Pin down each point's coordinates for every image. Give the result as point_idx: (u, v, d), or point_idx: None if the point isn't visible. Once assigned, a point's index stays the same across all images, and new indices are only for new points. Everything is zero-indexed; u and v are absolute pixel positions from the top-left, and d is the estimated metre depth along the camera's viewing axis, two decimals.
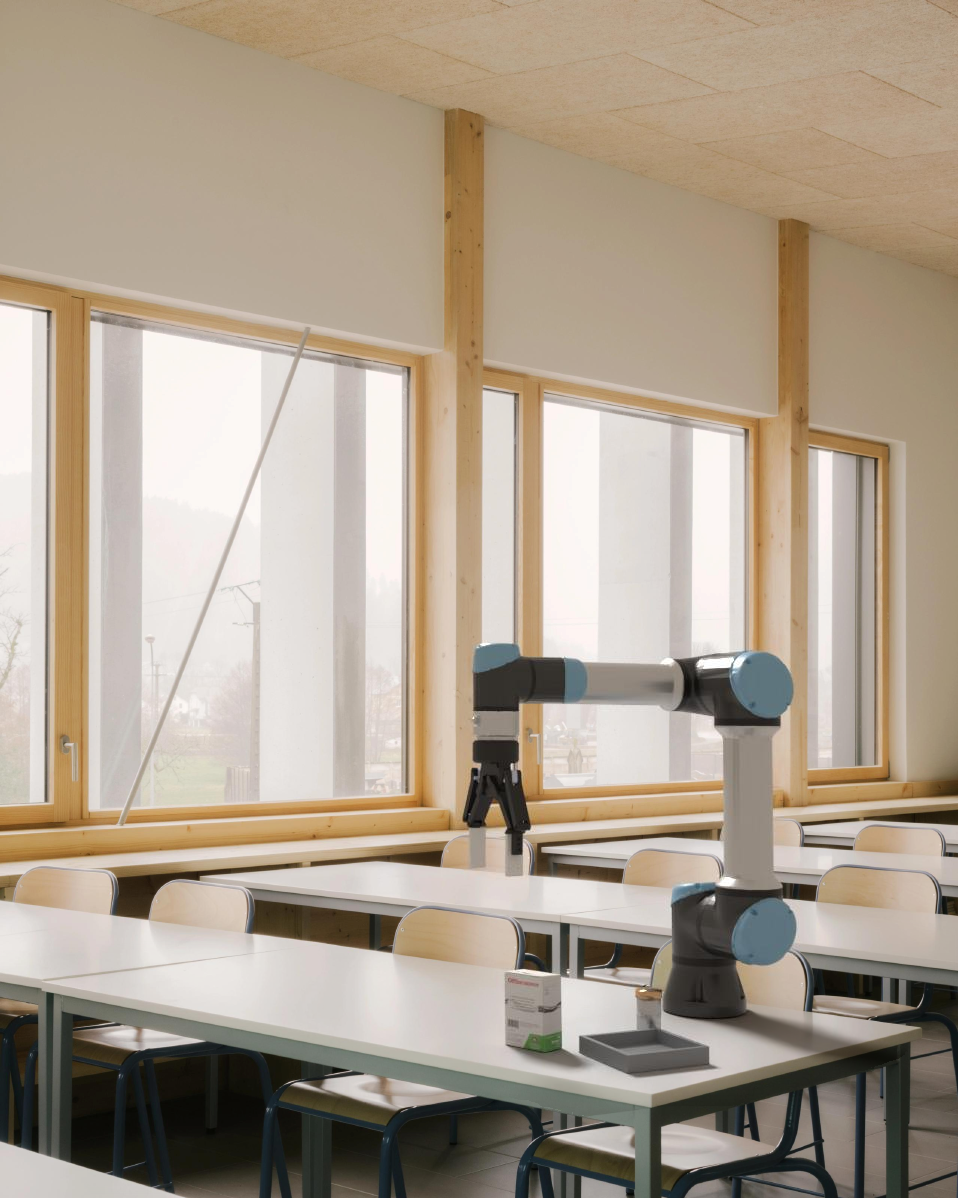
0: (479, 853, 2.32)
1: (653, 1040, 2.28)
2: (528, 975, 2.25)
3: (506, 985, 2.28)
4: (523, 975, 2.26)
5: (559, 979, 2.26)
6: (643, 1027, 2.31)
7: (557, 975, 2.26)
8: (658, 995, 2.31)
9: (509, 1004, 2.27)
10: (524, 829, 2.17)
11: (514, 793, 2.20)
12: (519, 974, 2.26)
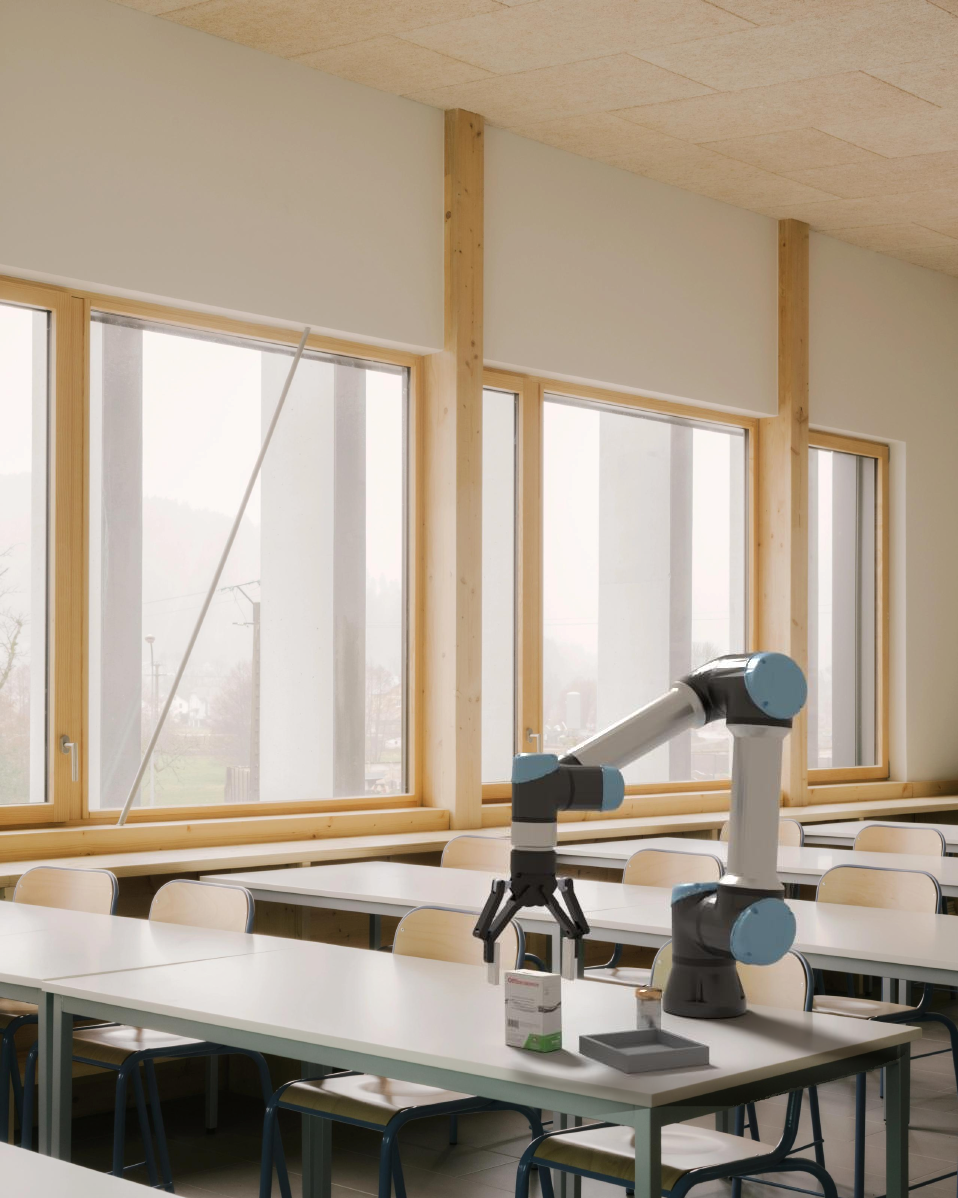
0: (567, 964, 2.30)
1: (653, 1040, 2.28)
2: (528, 975, 2.25)
3: (506, 985, 2.28)
4: (523, 975, 2.26)
5: (559, 979, 2.26)
6: (643, 1027, 2.31)
7: (557, 975, 2.26)
8: (658, 995, 2.31)
9: (509, 1004, 2.27)
10: (477, 937, 2.24)
11: (489, 901, 2.26)
12: (519, 974, 2.26)
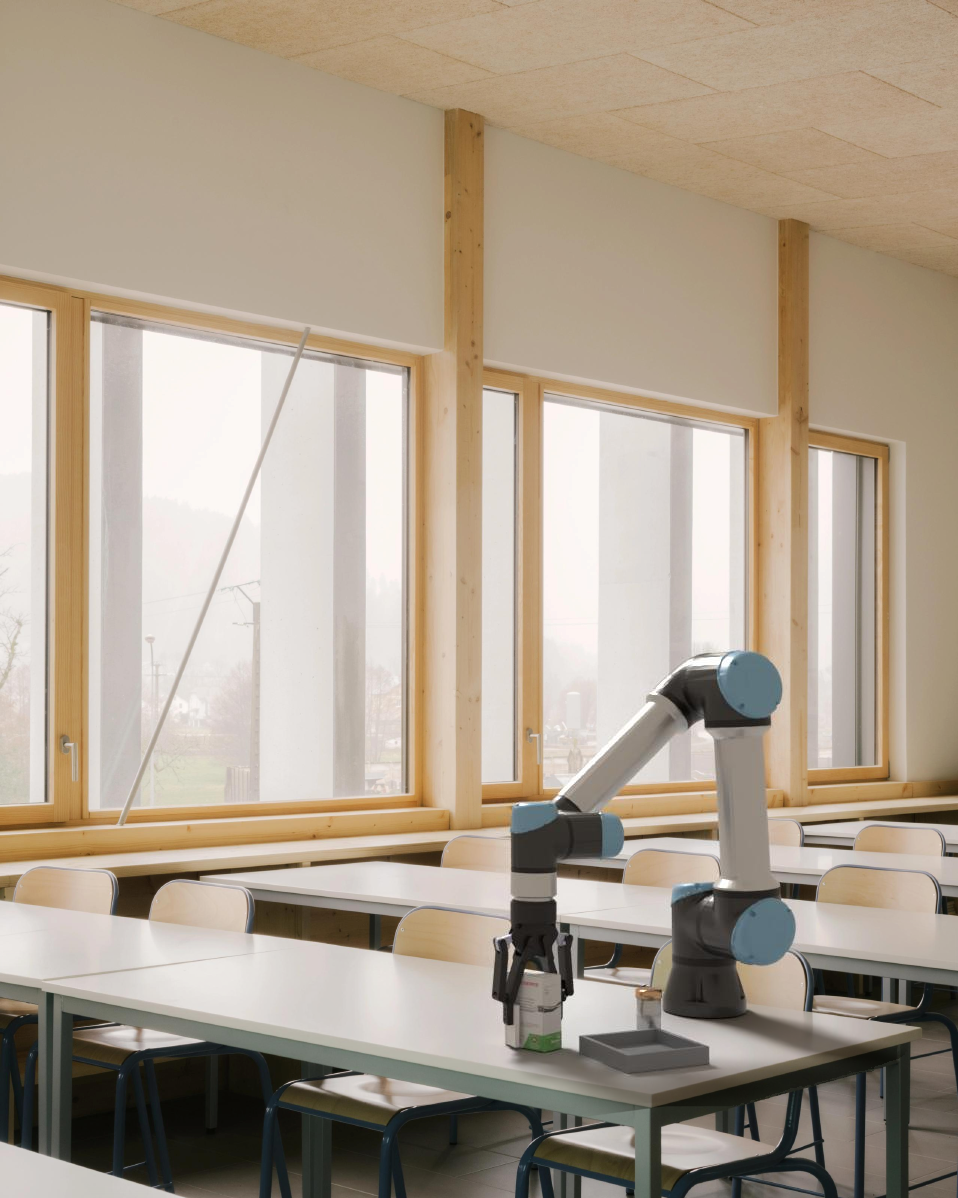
0: None
1: (653, 1040, 2.28)
2: (528, 975, 2.25)
3: None
4: (523, 975, 2.26)
5: (559, 979, 2.26)
6: (643, 1027, 2.31)
7: (557, 975, 2.26)
8: (658, 995, 2.31)
9: None
10: None
11: (496, 962, 2.25)
12: None
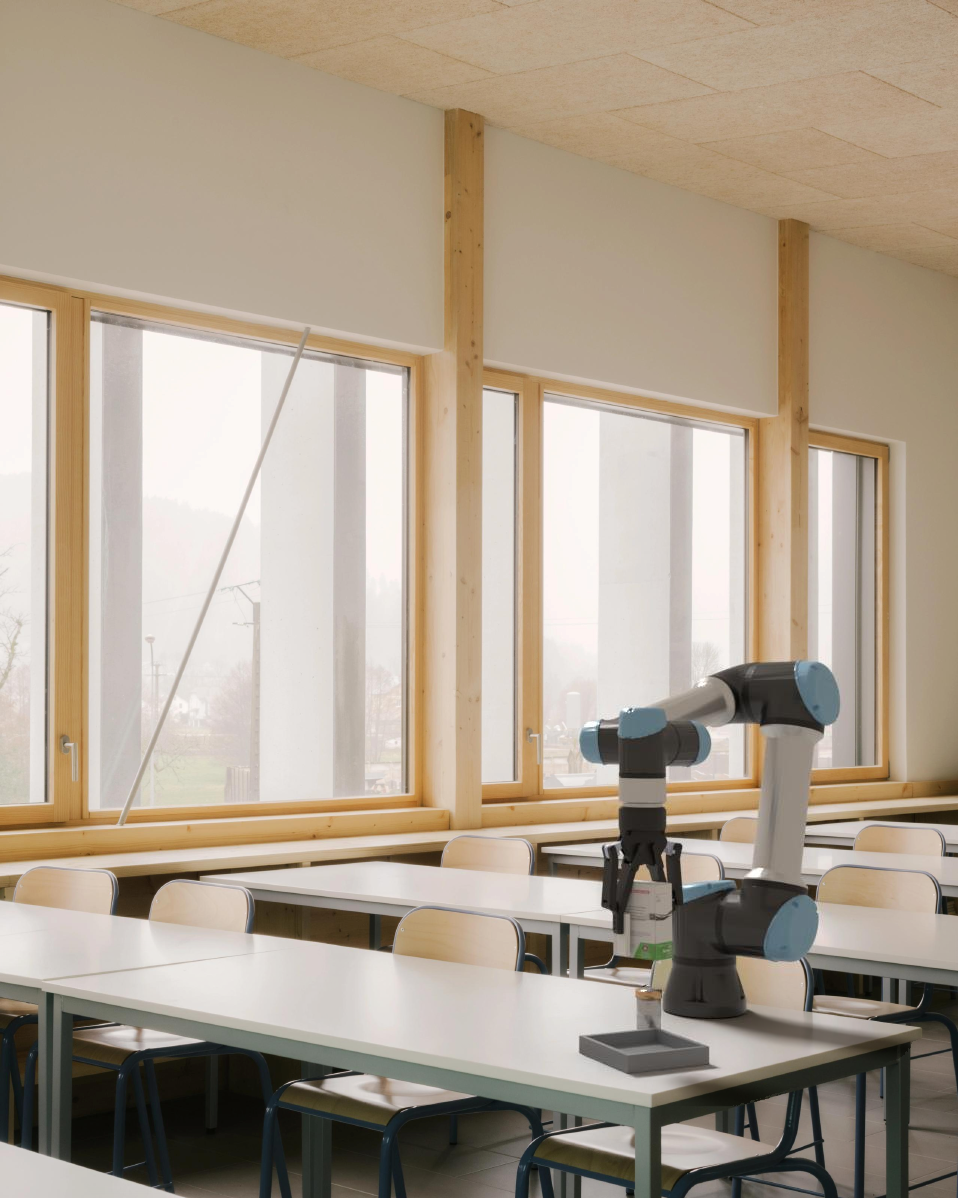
0: None
1: (653, 1040, 2.28)
2: (638, 883, 2.19)
3: None
4: (633, 883, 2.20)
5: (670, 887, 2.20)
6: (643, 1027, 2.31)
7: (668, 883, 2.20)
8: (658, 995, 2.31)
9: None
10: (607, 908, 2.18)
11: (606, 869, 2.19)
12: None
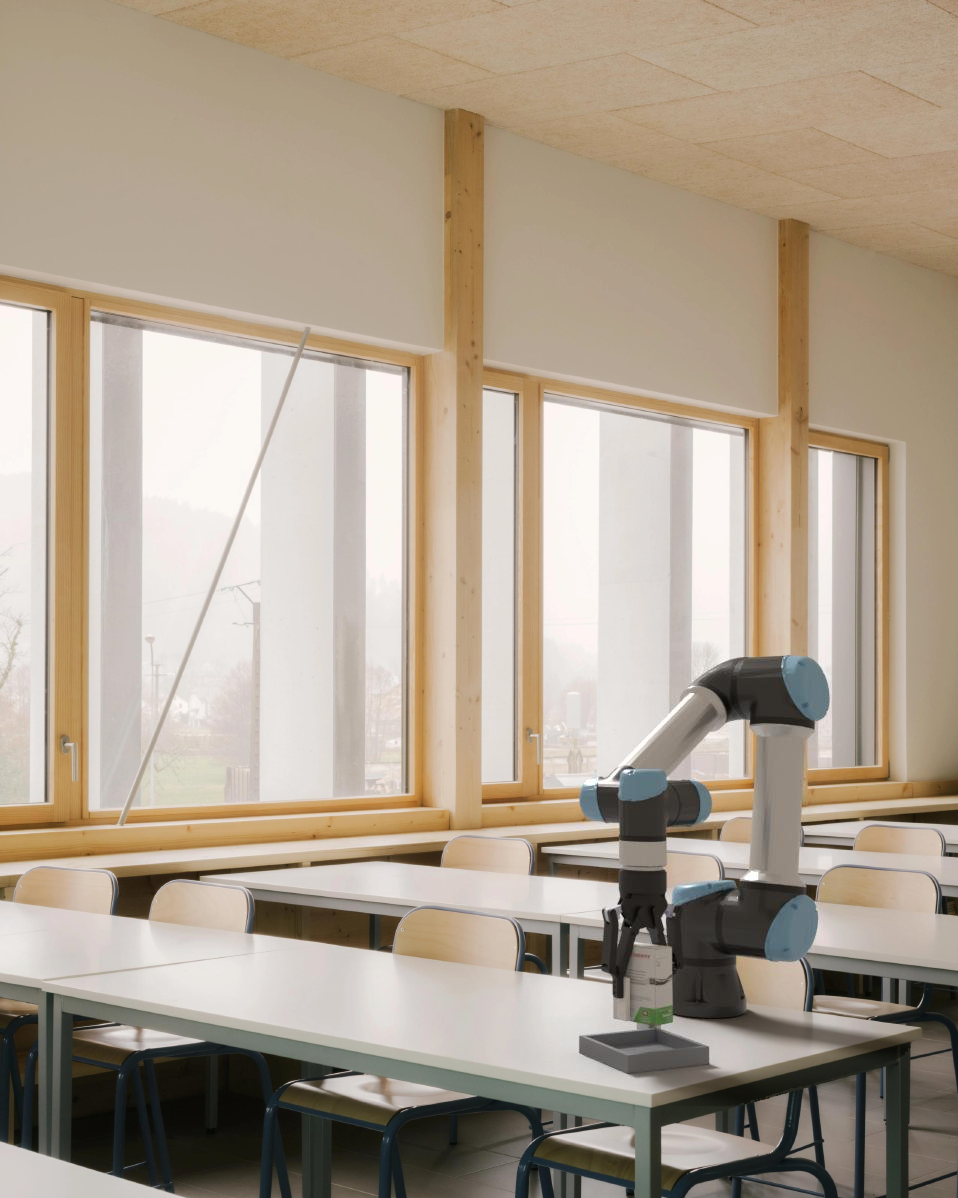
0: None
1: (653, 1040, 2.28)
2: (638, 946, 2.18)
3: None
4: (633, 946, 2.19)
5: (670, 951, 2.19)
6: (643, 1027, 2.31)
7: (668, 947, 2.19)
8: None
9: None
10: (606, 972, 2.17)
11: (606, 933, 2.18)
12: None
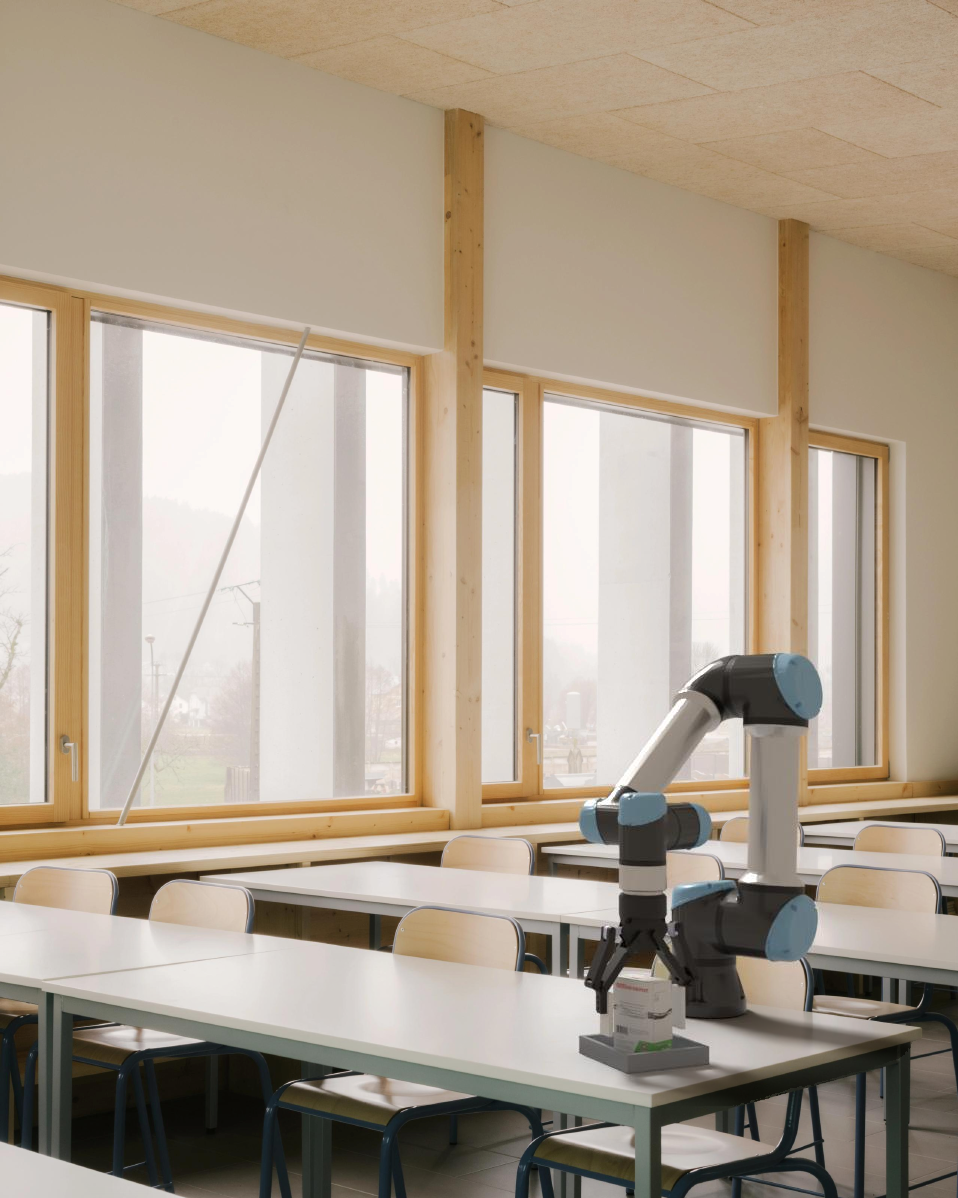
0: (677, 1013, 2.22)
1: None
2: (637, 980, 2.18)
3: (614, 990, 2.21)
4: (632, 980, 2.18)
5: (669, 985, 2.18)
6: None
7: (667, 980, 2.18)
8: None
9: (618, 1010, 2.20)
10: (590, 987, 2.16)
11: (599, 949, 2.18)
12: (628, 979, 2.19)
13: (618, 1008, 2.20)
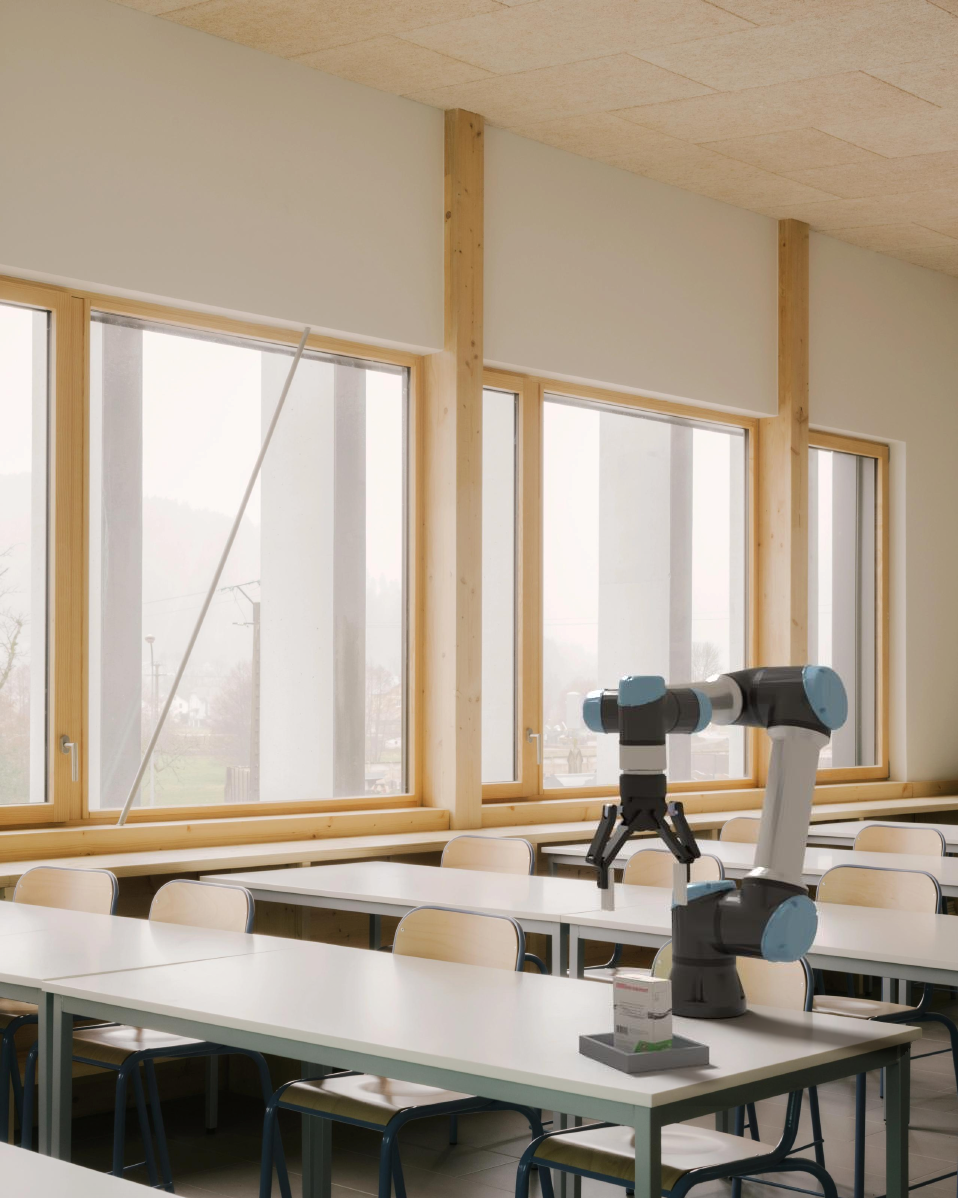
0: (679, 889, 2.26)
1: None
2: (637, 980, 2.18)
3: (614, 990, 2.21)
4: (632, 980, 2.18)
5: (669, 985, 2.18)
6: None
7: (667, 981, 2.18)
8: None
9: (618, 1010, 2.20)
10: (591, 863, 2.19)
11: (600, 826, 2.21)
12: (628, 979, 2.19)
13: (618, 1008, 2.20)
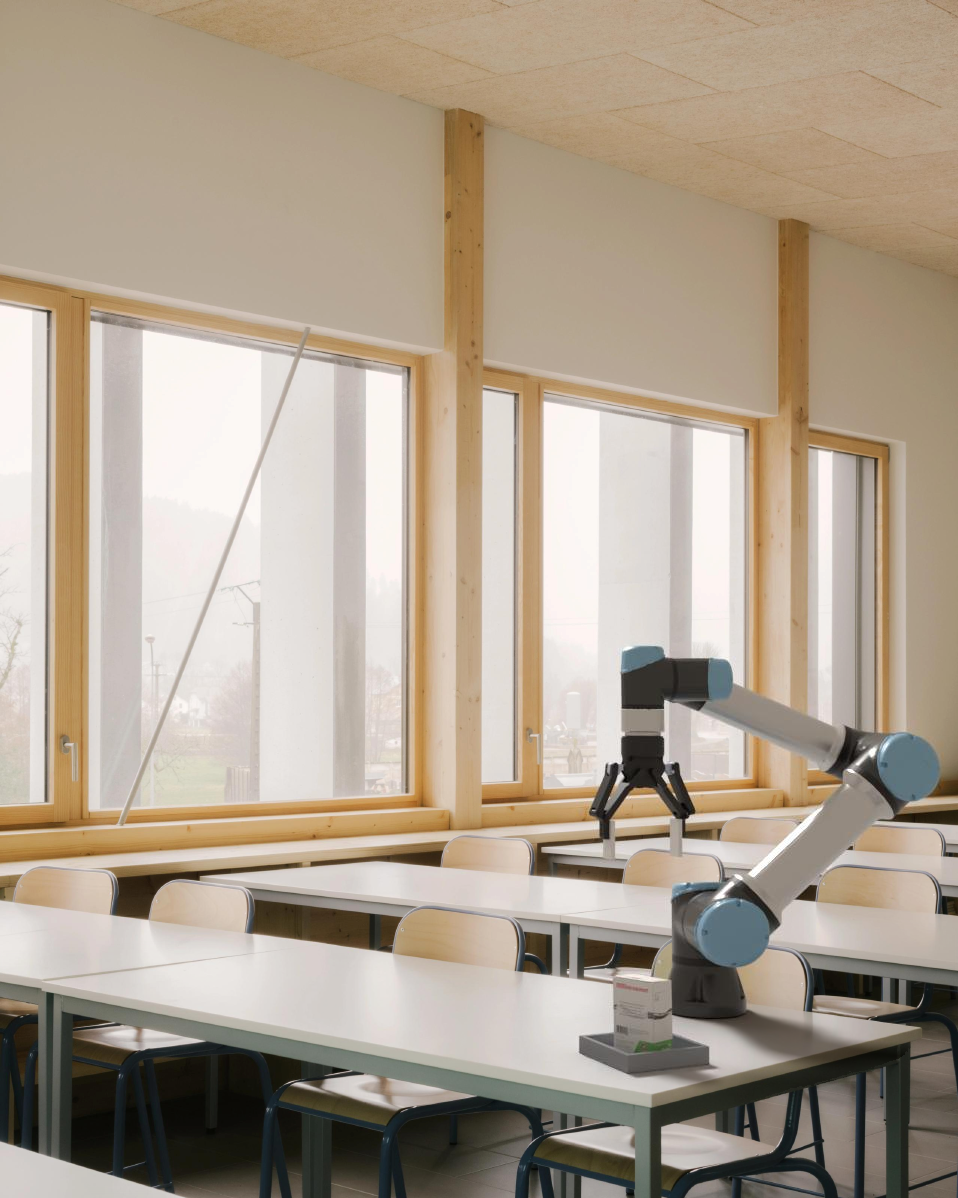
0: (675, 842, 2.47)
1: None
2: (637, 980, 2.18)
3: (614, 990, 2.21)
4: (632, 980, 2.18)
5: (669, 985, 2.18)
6: None
7: (667, 981, 2.18)
8: None
9: (618, 1010, 2.20)
10: (594, 815, 2.40)
11: (603, 783, 2.42)
12: (628, 979, 2.19)
13: (618, 1008, 2.20)
